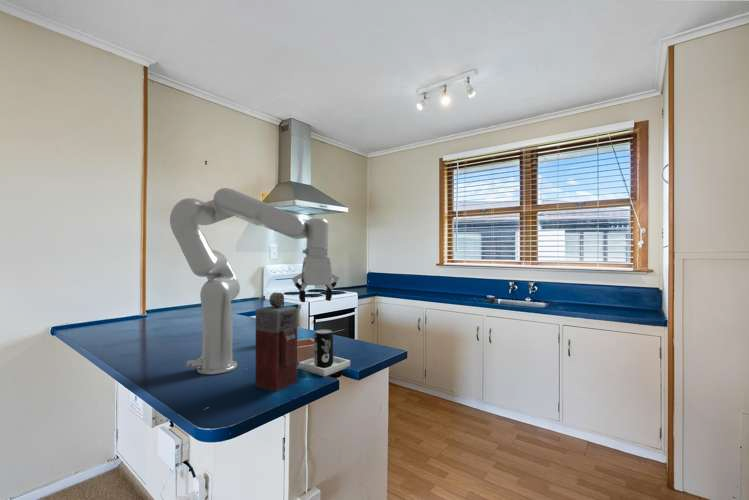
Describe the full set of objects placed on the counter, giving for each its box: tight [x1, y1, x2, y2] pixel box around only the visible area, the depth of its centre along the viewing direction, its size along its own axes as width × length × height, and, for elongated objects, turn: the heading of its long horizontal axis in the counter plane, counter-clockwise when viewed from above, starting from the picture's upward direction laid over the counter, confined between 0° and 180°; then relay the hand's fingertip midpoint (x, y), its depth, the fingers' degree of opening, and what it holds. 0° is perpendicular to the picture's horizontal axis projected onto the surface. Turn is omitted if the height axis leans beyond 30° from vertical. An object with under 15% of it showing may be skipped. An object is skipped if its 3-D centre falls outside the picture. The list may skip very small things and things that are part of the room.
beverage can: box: [313, 328, 334, 368], centre depth 120 cm, size 7×7×12 cm
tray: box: [298, 355, 351, 378], centre depth 120 cm, size 13×13×2 cm
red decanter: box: [254, 292, 298, 392], centre depth 105 cm, size 9×11×28 cm
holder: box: [297, 337, 314, 364], centre depth 133 cm, size 11×11×6 cm
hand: (315, 301), depth 123 cm, fingers open, 9 cm apart
